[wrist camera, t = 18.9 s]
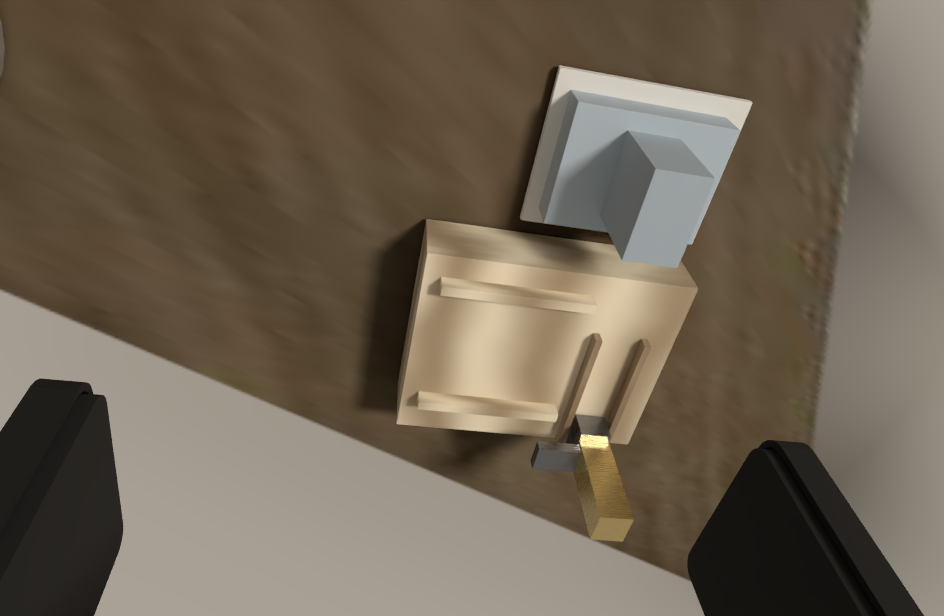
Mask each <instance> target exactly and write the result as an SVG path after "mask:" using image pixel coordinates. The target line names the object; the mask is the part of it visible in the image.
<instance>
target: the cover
mask: <svg viewBox="0 0 944 616" xmlns="http://www.w3.org/2000/svg"><path fill="white" fill-rule="evenodd" d="M739 133H740V130H739V129H738V128H737V127H736V126H735V125H734V124H733V123H732V122H731V121H730V120H728V119H727V118H726V117H721V116H715V115H710V114H704V113H699V112H693V111H688V110H682V109H677V108H671V107H666V106H660V105H655V104H649V103H643V102H638V101H632V100H627V99H621V98H616V97H610V96H605V95H599V94H594V93H588V92H583V91H577V90H572V89H571V91H570V95H569V99H568V102H567V106H566V110H565V113H564V117H563V120H562V124H561V128H560V131H559V135H558V139H557V142H556V146H555V149H554V153H553V157H552V160H551V164H550V167H549V171H548V175H547V178H546V182H545V186H544V189H543V193H542V196H541V200H540V204H539V210H540V213H541V216H542V219H543V222H544V223H546V224H553V225H560V226H567V227H574V228H581V229H588V230H595V231H601V232H608V233H609V235H610V237H611V239H612V242H613V244H614V246H615V248H616V250H617V252H618V254H619V256H620V258H621V260H622V261H628V262H635V263H642V264H649V265H657V266H664V267H671V268H678V265H679V263H680V261H681V258H682V256H683V253H684V251H685V249H686V246H687V244H692V242H693V240H694V237H695V235H696V233H697V230H698V228H699V226H700V223H701V221H702V219H703V216H704V214H705V212H706V209H707V207H708V205H709V202H710V200H711V198H712V195H713V193H714V191H715V188H716V186H717V184H718V182H719V179H720V177H721V175H722V172H723V170H724V168H725V165H726V163H727V161H728V158H729V156H730V154H731V151H732V149H733V147H734V144H735V142H736V140H737V137H738V135H739Z"/></svg>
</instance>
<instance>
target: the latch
mask: <svg viewBox="0 0 944 616" xmlns="http://www.w3.org/2000/svg"><path fill="white" fill-rule="evenodd" d="M610 439H611V435H610V432H609V428H608V425H607V422H606V419H605V417H596V416H585V415H576V416H575V419H574V421H573V424H572V427H571V429H570V432H569V434H568V437H567V440H566V442H565V443H556V442H545V441H537V444H536V447H535V450H534V453H533V456H532V458H531V465H532V469H540V470H553V471H565V472H574V476H575V480H576V484H577V488H578V492H579V496H580V500H581V504H582V508H583V512H584V516H585V520H586V524H587V527H588V531H589V535H590V539H592V540H608V541H623V540H624V538H625V536H626V534H627V532H628V530H629V528H630V526H631V524H632V522H633V520H634V519H633V516H632V513H631V510H630V506H629V503H628V500H627V497H626V494H625V491H624V488H623V485H622V482H621V478H620V475H619V472H618V469H617V466H616V463H615V460H614V457H613V454H612V450H611V447H610V444H609V441H610Z"/></svg>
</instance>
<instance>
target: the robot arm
mask: <svg viewBox="0 0 944 616" xmlns="http://www.w3.org/2000/svg"><path fill="white" fill-rule="evenodd" d="M4 51H5V46H4V39H3V31H2V24H1V20H0V78H1V75H2V72H3V64H4ZM122 535H123V520H122V513H121V505H120V497H119V490H118V483H117V475H116V468H115V461H114V453H113V446H112V438H111V430H110V423H109V415H108V408H107V401H106V398H105V397H104V395H94V394H93V392H92V388H91V386H90V384H89V383H85V382H74V381H63V380H50V379H38V380H36V381H35V382H34V383H33V384H32V385H31V386H30V388H29V389H28V391H27V392H26V394H25V395H24V397H23V398H22V400H21V401H20V403H19V404H18V406H17V407H16V409H15V410H14V412H13V413H12V415H11V417H10V418H9V419H8V421H7V422H6V424H5V425H4V427H3V428H2V430H1V431H0V616H94V614H95V612H96V609H97V606H98V604H99V601H100V599H101V596H102V594H103V591H104V588H105V586H106V583H107V580H108V578H109V575H110V573H111V570H112V568H113V565H114V562H115V560H116V557H117V555H118V552H119V549H120V545H121V541H122ZM687 566H688V573H689V576H690V579H691V582H692V584H693V587H694V589H695V592H696V594H697V597H698V599H699V602H700V605H701V607H702V610H703V612H704V615H705V616H924V615H923V614H922V612H921V611H920V609H919V608H918V606H917V605H916V603H915V602H914V600H913V599H912V597H911V596H910V594H909V593H908V591H907V590H906V588H905V587H904V585H903V584H902V582H901V581H900V579H899V578H898V576H897V575H896V573H895V572H894V570H893V569H892V568H891V566H890V564H889V563H888V561H887V560H886V559H885V557H884V555H883V554H882V553H881V551H880V550H879V548H878V547H877V545H876V544H875V542H874V541H873V539H872V538H871V536H870V535H869V533H868V532H867V530H866V529H865V527H864V526H863V524H862V523H861V521H860V520H859V518H858V517H857V515H856V514H855V512H854V511H853V509H852V508H851V506H850V505H849V503H848V502H847V500H846V499H845V497H844V496H843V494H842V493H841V491H840V490H839V488H838V487H837V485H836V484H835V483H834V481H833V479H832V478H831V477H830V475H829V474H828V472H827V471H826V469H825V468H824V466H823V465H822V463H821V462H820V460H819V459H818V457H817V456H816V454H815V453H814V451H813V450H812V449H811V448H810V447H809V446H808V445H806V444H804V443H798V442H787V441H775V440H767V441H765V442H763V443H762V444H761V445H760V446H759V447H758V449H757V448H756V449H754V450H752V451H751V452H750V454H749V455H748V457H747V458H746V460H745V462H744V463H743V465H742V467H741V468H740V470H739V472H738V473H737V475H736V477H735V478H734V480H733V481H732V483H731V485H730V486H729V488H728V490H727V491H726V493H725V495H724V496H723V498H722V500H721V501H720V503H719V505H718V506H717V508H716V509H715V511H714V513H713V514H712V516H711V518H710V519H709V521H708V523H707V524H706V526H705V528H704V529H703V531H702V533H701V534H700V536H699V537H698V539H697V541H696V542H695V544H694V546H693V547H692V549H691V551H690V553H689V555H688V565H687Z"/></svg>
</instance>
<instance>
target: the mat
mask: <svg viewBox="0 0 944 616" xmlns="http://www.w3.org/2000/svg"><path fill="white" fill-rule="evenodd" d="M571 89H572V90H577V91H583V92H588V93H594V94H599V95H605V96H610V97H616V98H621V99H627V100H632V101H638V102H643V103H649V104H655V105H660V106H666V107H671V108H677V109H682V110H688V111H693V112H699V113H704V114H710V115H715V116H721V117H726V118H727V119H728V120H730V121H731V122H732V123H733V124H734V125H735V126H736V127H737V128H738V129H739V130H740V131H741V129H742V126H743V124H744V122H745V119H746V117H747V115H748V112H749V110H750V108H751V105H752V103H753V102H751V101H750V100H745V99H740V98H735V97H729V96H724V95H718V94H713V93H707V92H702V91H697V90H691V89H686V88H680V87H675V86H669V85H664V84H659V83H653V82H648V81H642V80H637V79H631V78H626V77H621V76H615V75H610V74H604V73H599V72H593V71H588V70H582V69H577V68H572V67H566V66H561V65H559V68H558V71H557V75H556V79H555V83H554V87H553V91H552V95H551V98H550V102H549V106H548V110H547V114H546V118H545V122H544V125H543V129H542V133H541V137H540V141H539V145H538V149H537V152H536V156H535V160H534V164H533V168H532V172H531V176H530V179H529V183H528V187H527V191H526V195H525V199H524V203H523V206H522V210H521V214H520V219H521V220H524V221H531V222H538V223H544V222H543V219H542V216H541V213H540V210H539V204H540V200H541V196H542V193H543V189H544V186H545V182H546V178H547V175H548V171H549V167H550V164H551V160H552V157H553V153H554V149H555V146H556V142H557V139H558V135H559V131H560V128H561V124H562V120H563V117H564V113H565V110H566V106H567V102H568V99H569V95H570V91H571ZM738 136H739V135H738ZM737 138H738V137H737ZM735 143H736V142H735ZM734 145H735V144H734ZM732 150H733V149H732ZM731 152H732V151H731ZM729 157H730V156H729ZM728 159H729V158H728ZM726 164H727V163H726ZM725 166H726V165H725ZM723 171H724V170H723ZM722 173H723V172H722ZM720 178H721V177H720ZM719 180H720V179H719ZM717 185H718V184H717ZM716 187H717V186H716ZM715 189H716V188H715ZM714 192H715V191H714ZM713 194H714V193H713ZM712 196H713V195H712ZM711 199H712V198H711ZM710 201H711V200H710ZM709 203H710V202H709ZM708 206H709V205H708ZM707 208H708V207H707ZM706 210H707V209H706ZM705 213H706V212H705ZM704 215H705V214H704ZM703 217H704V216H703ZM702 220H703V219H702ZM701 222H702V221H701ZM545 224H546V223H545ZM700 224H701V223H700ZM552 225H553V224H552ZM559 226H560V225H559ZM566 227H567V226H566ZM699 227H700V226H699ZM573 228H574V227H573ZM580 229H581V228H580ZM698 229H699V228H698ZM587 230H588V229H587ZM594 231H595V230H594ZM697 231H698V230H697ZM696 234H697V233H696ZM695 236H696V235H695ZM694 238H695V237H694ZM693 241H694V240H693ZM692 243H693V242H692Z"/></svg>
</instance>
